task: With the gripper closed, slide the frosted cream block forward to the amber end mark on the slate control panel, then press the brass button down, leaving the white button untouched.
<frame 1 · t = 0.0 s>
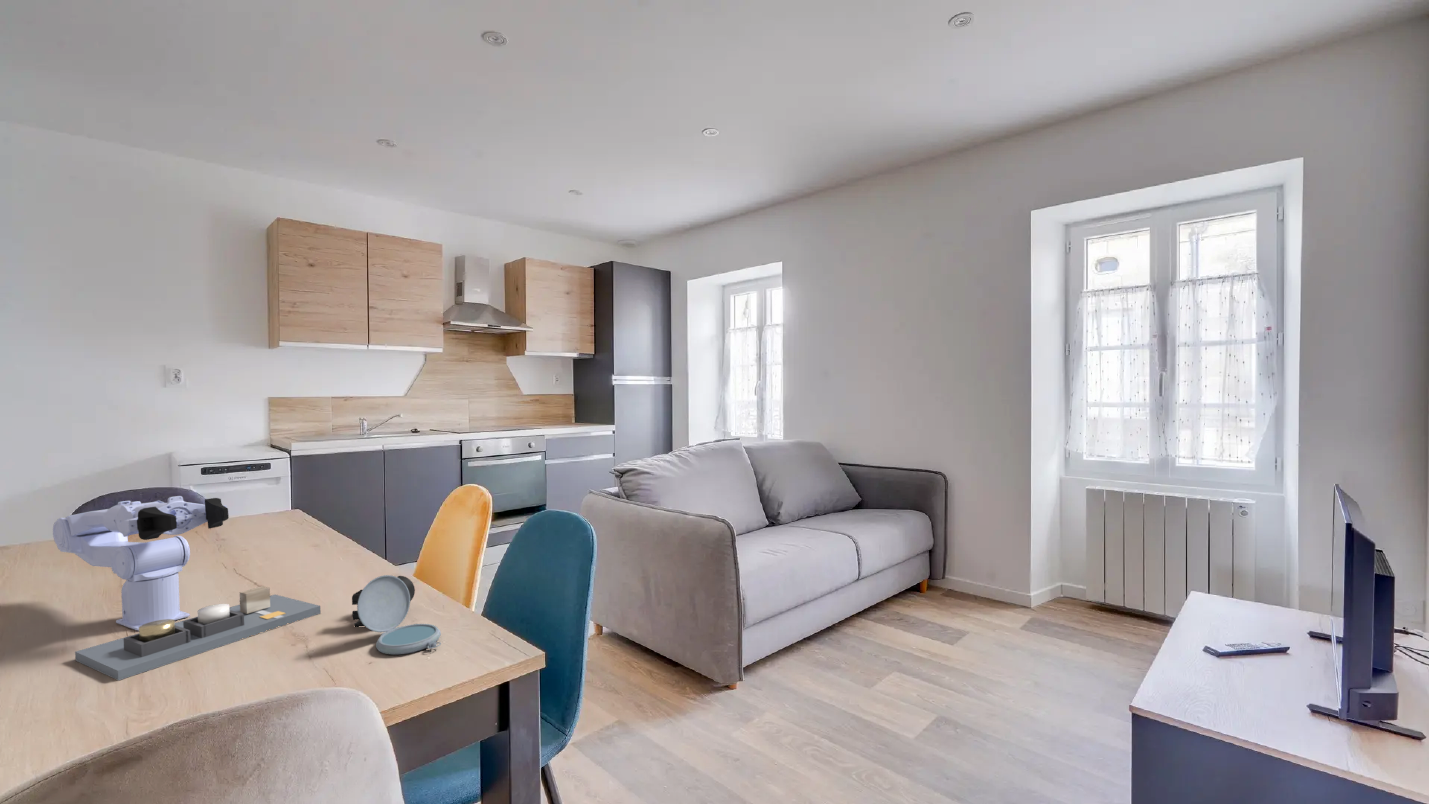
hand: (200, 517, 107), 22 cm above the table, tool horizontal, fingers open, 7 cm apart
brass button: (157, 630, 101), point 4 cm above the table, slide at 0.0 cm
pocket watch: (408, 645, 104), on the table
panel: (209, 634, 109), on the table
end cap: (385, 619, 116), on the table
frosted cream block: (255, 599, 117), point 4 cm above the table, slide at 0.0 cm
white button: (213, 613, 108), point 4 cm above the table, slide at 0.0 cm
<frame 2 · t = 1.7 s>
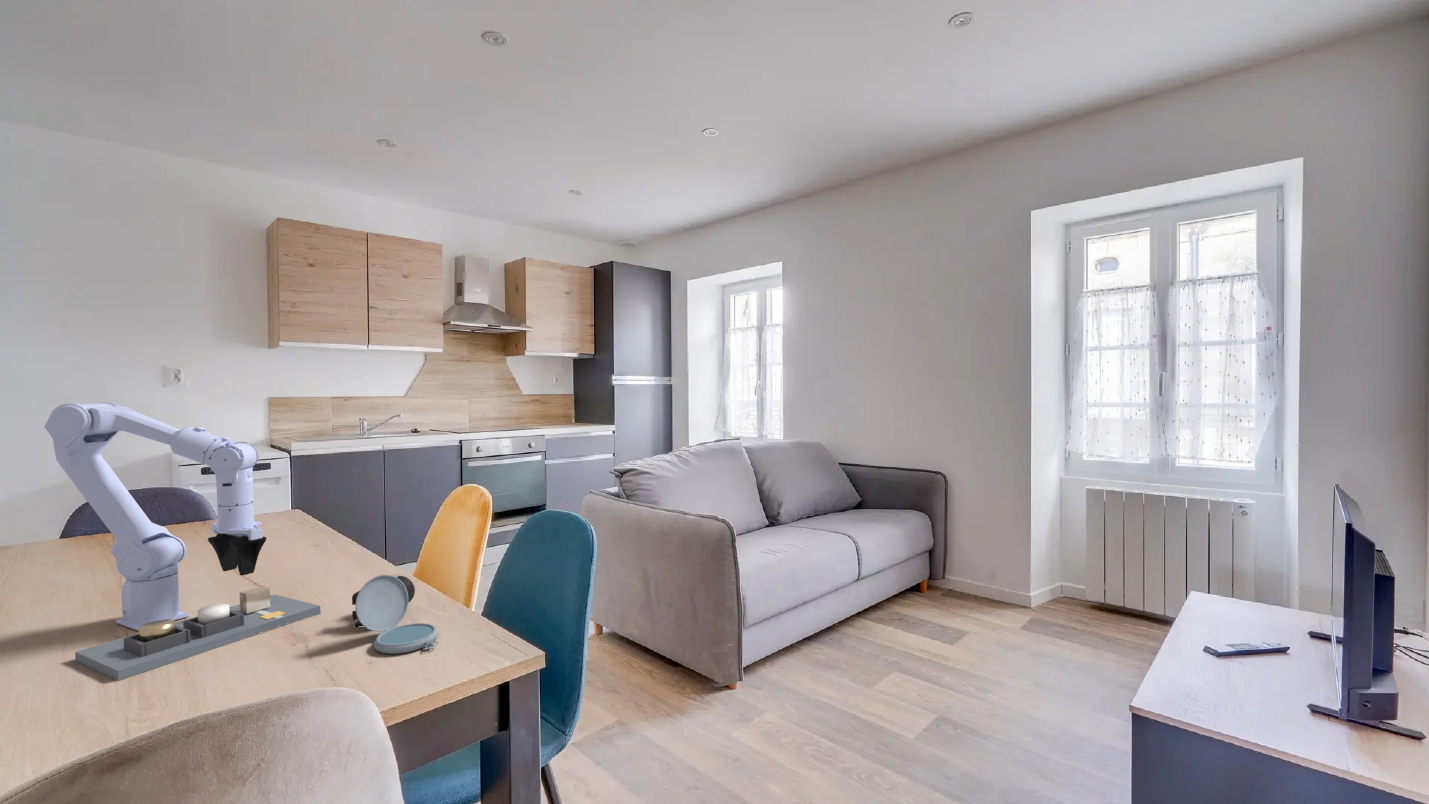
hand: (238, 571, 119), 8 cm above the table, tool pointing down, fingers open, 6 cm apart
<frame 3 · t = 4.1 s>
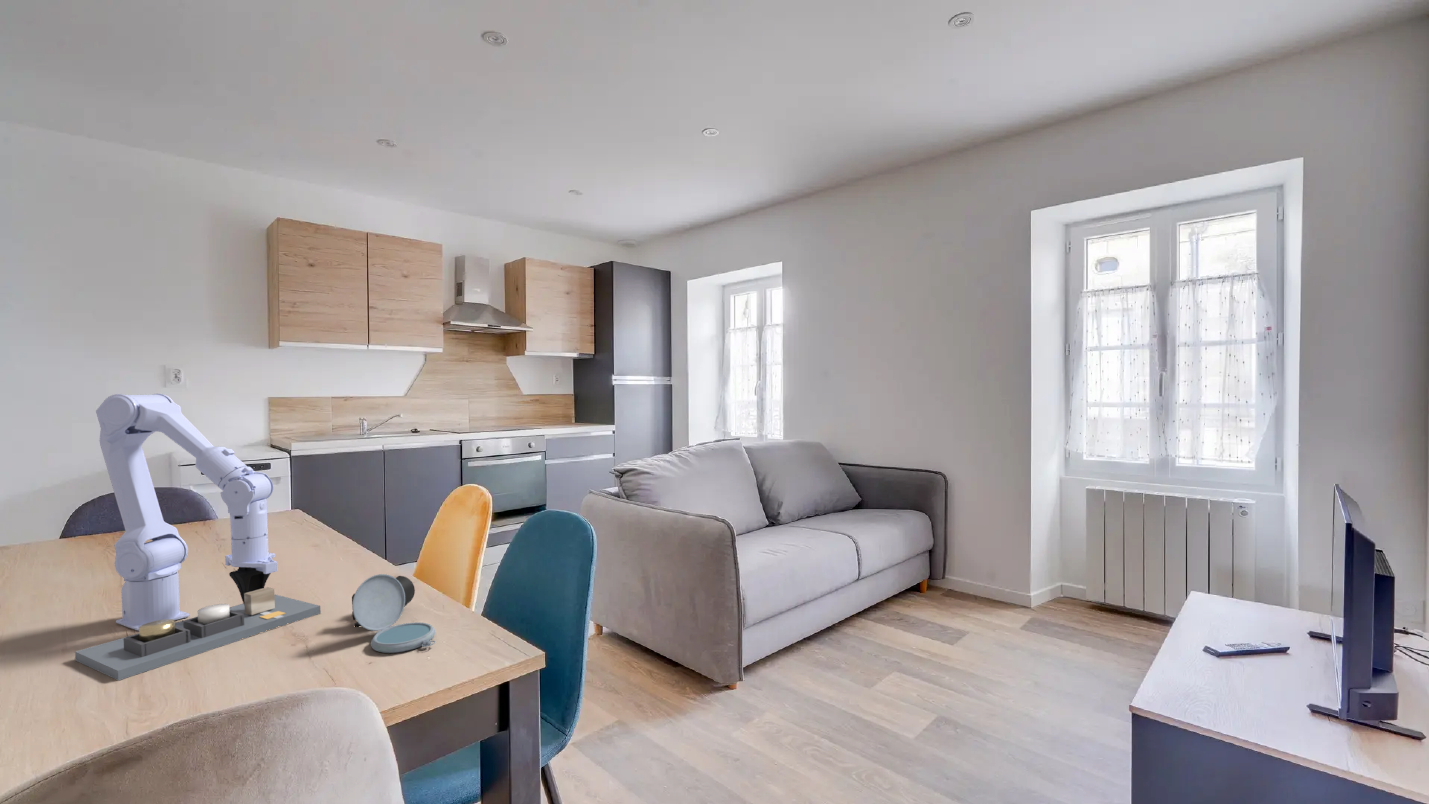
hand: (252, 605, 117), 2 cm above the table, tool pointing down, fingers closed
frosted cream block: (259, 600, 116), point 4 cm above the table, slide at 1.6 cm, touching gripper
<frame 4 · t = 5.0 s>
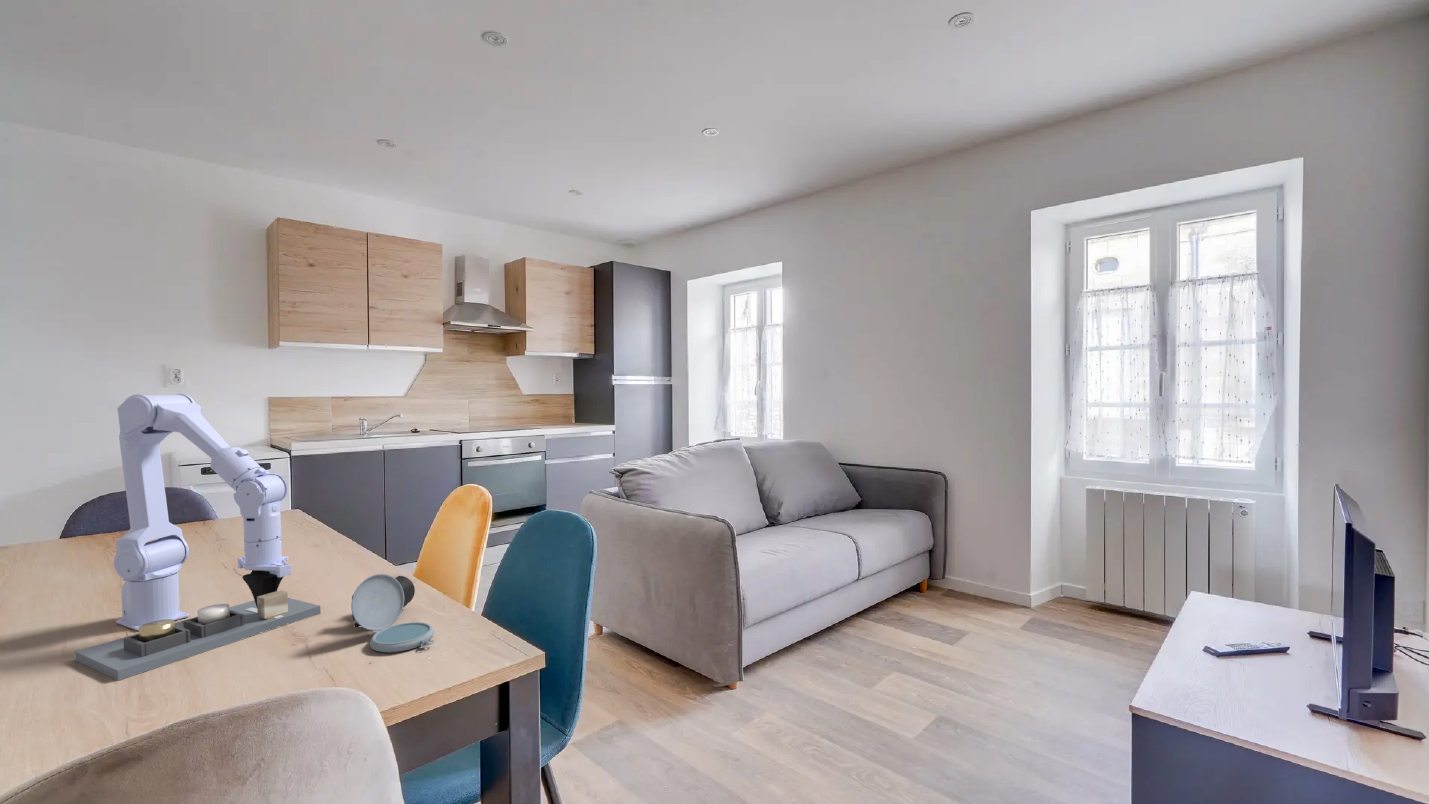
hand: (265, 608, 115), 2 cm above the table, tool pointing down, fingers closed
frosted cream block: (272, 604, 114), point 4 cm above the table, slide at 6.1 cm, touching gripper
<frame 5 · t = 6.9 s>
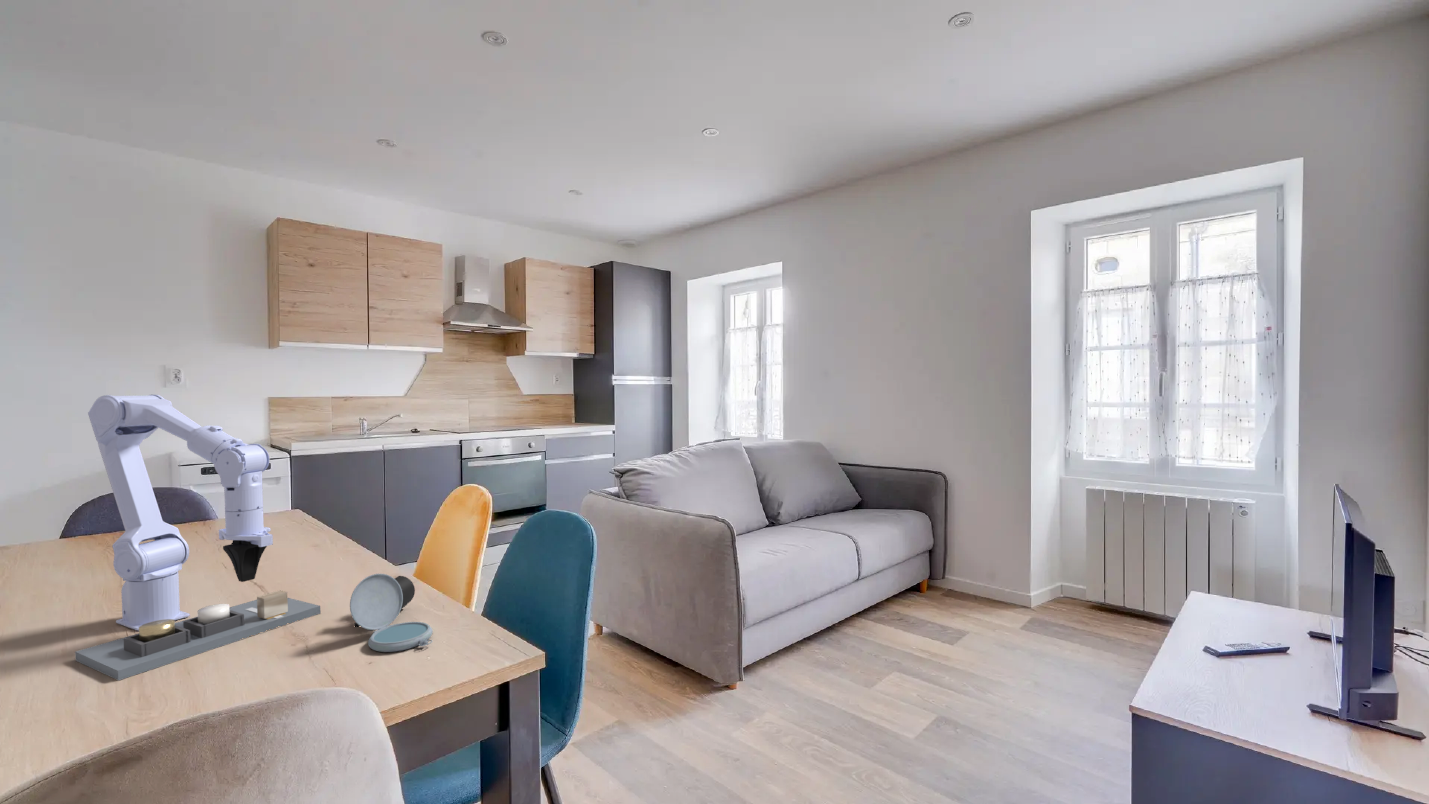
hand: (246, 580, 114), 8 cm above the table, tool pointing down, fingers closed
frosted cream block: (272, 604, 114), point 4 cm above the table, slide at 6.1 cm
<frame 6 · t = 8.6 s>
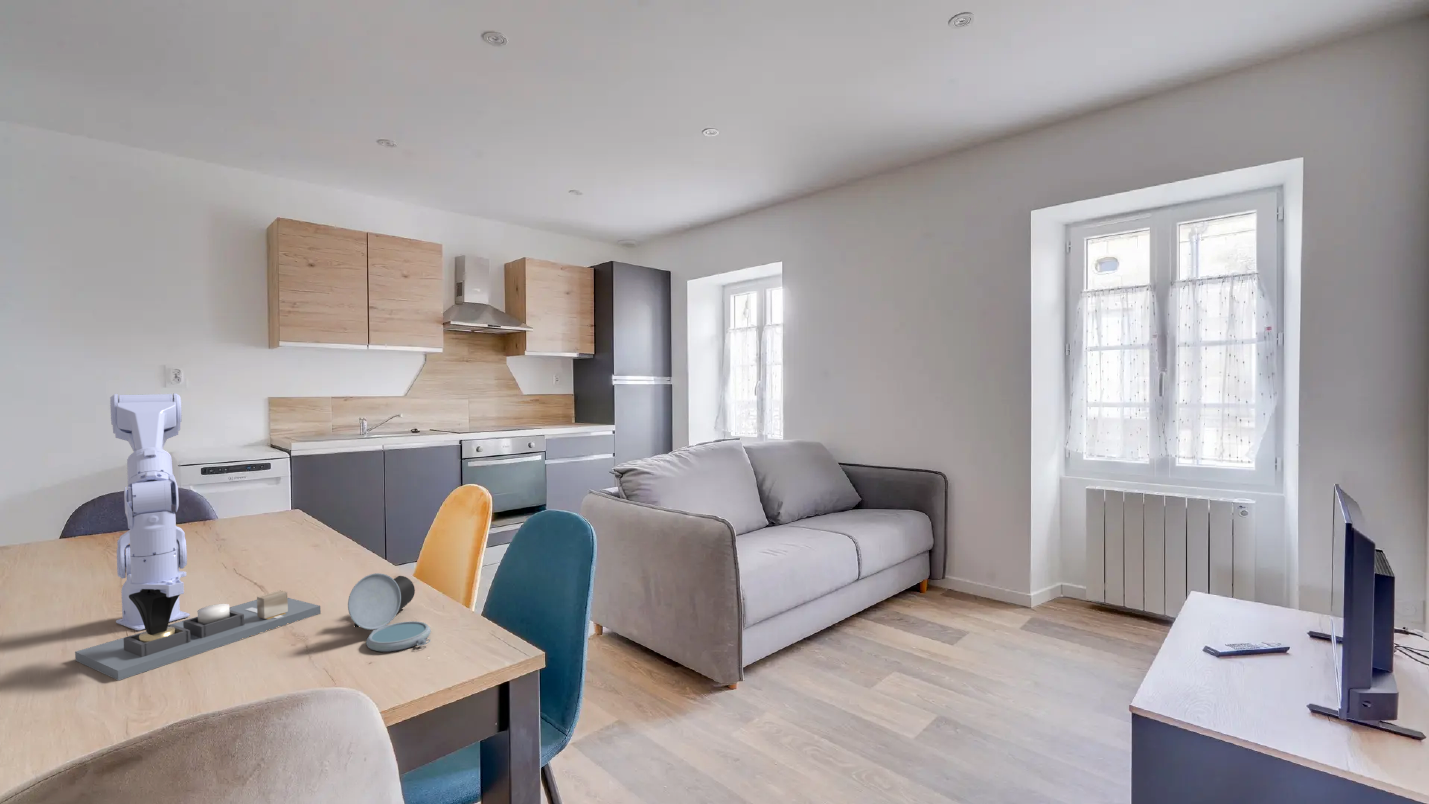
hand: (157, 632, 101), 4 cm above the table, tool pointing down, fingers closed, pressing on brass button
brass button: (157, 637, 101), point 3 cm above the table, slide at 1.4 cm, touching gripper
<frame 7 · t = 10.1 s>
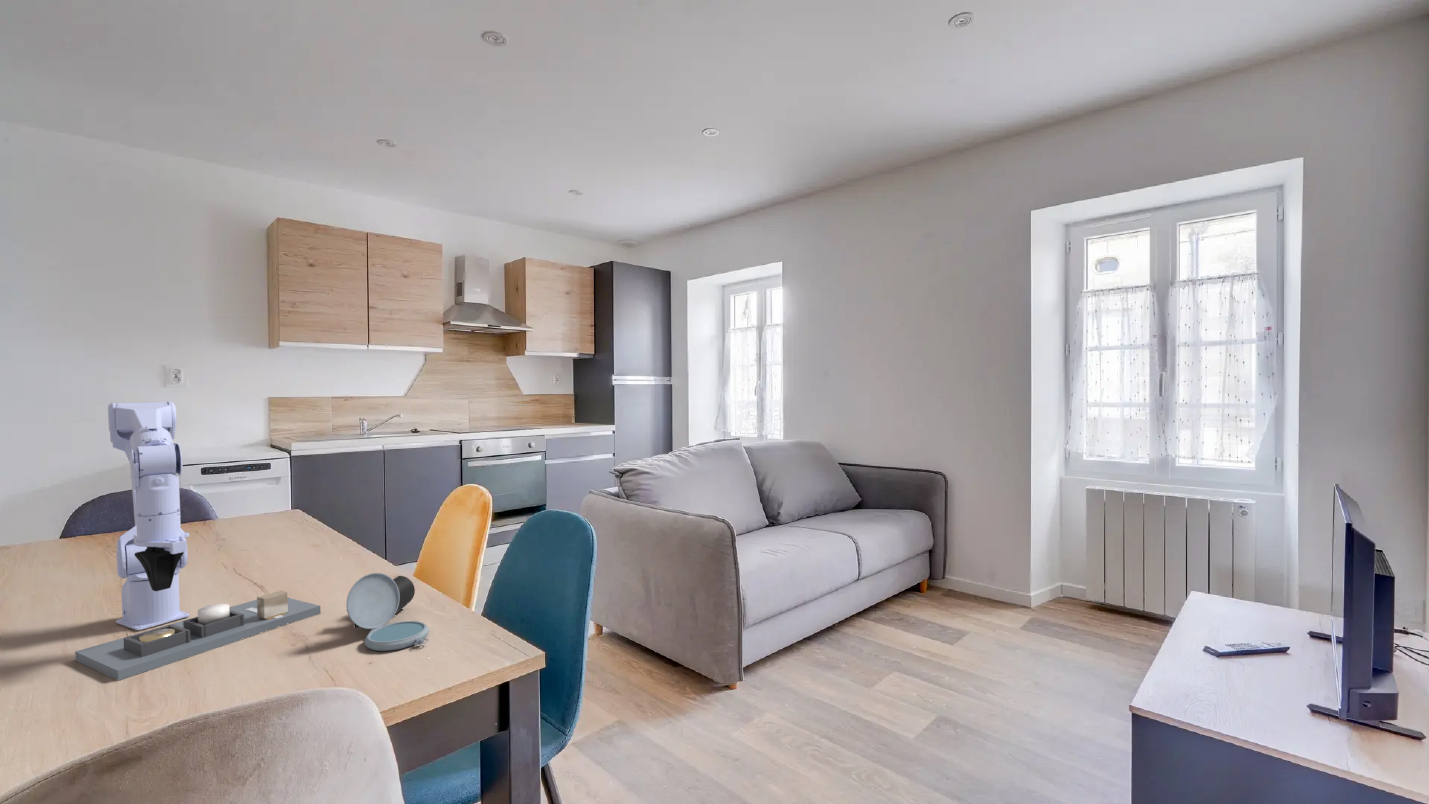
hand: (161, 589, 106), 9 cm above the table, tool pointing down, fingers closed
brass button: (157, 639, 101), point 3 cm above the table, slide at 1.7 cm
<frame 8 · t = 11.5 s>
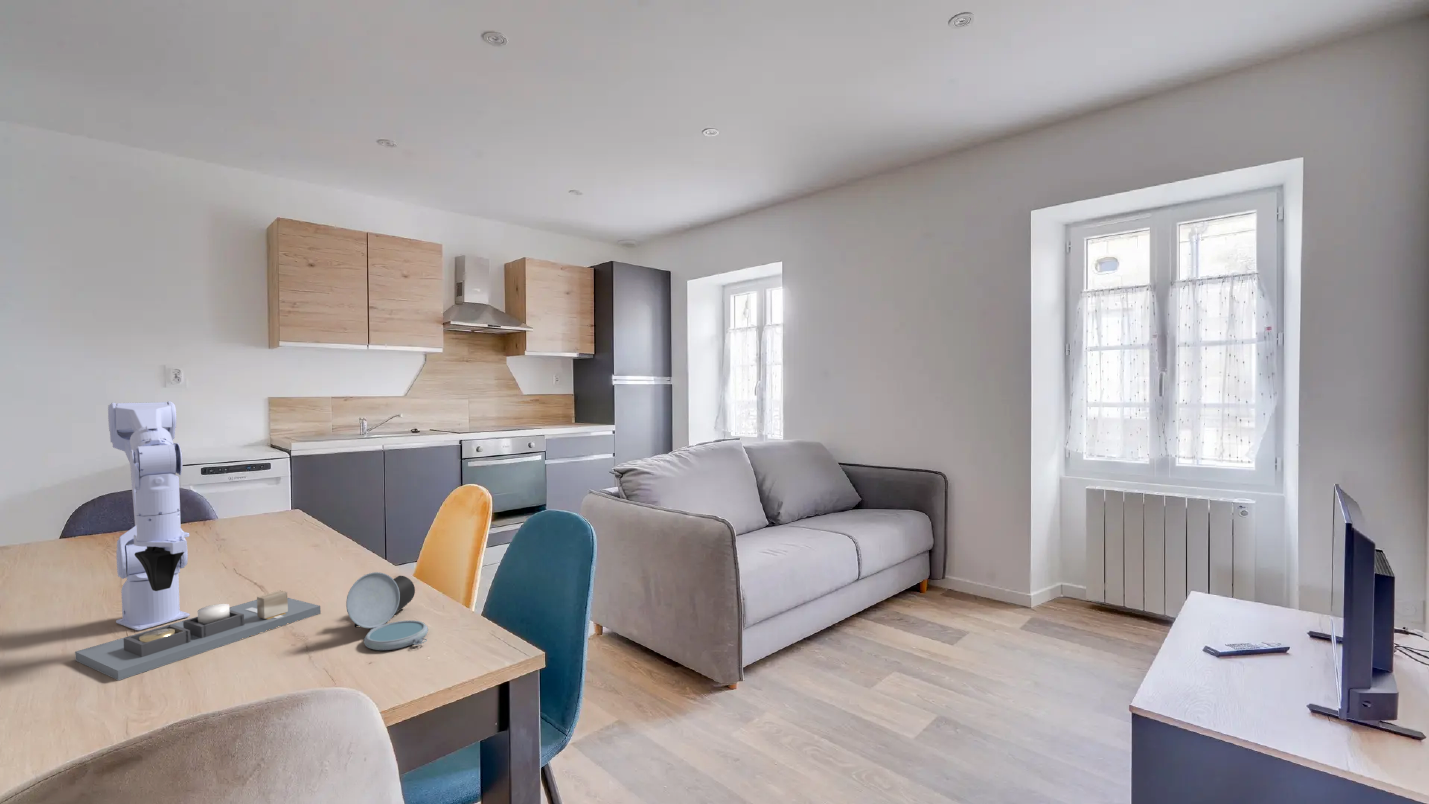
hand: (161, 589, 106), 9 cm above the table, tool pointing down, fingers closed
at the end: frosted cream block slide at 6.1 cm; brass button slide at 1.7 cm; white button slide at 0.0 cm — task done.
